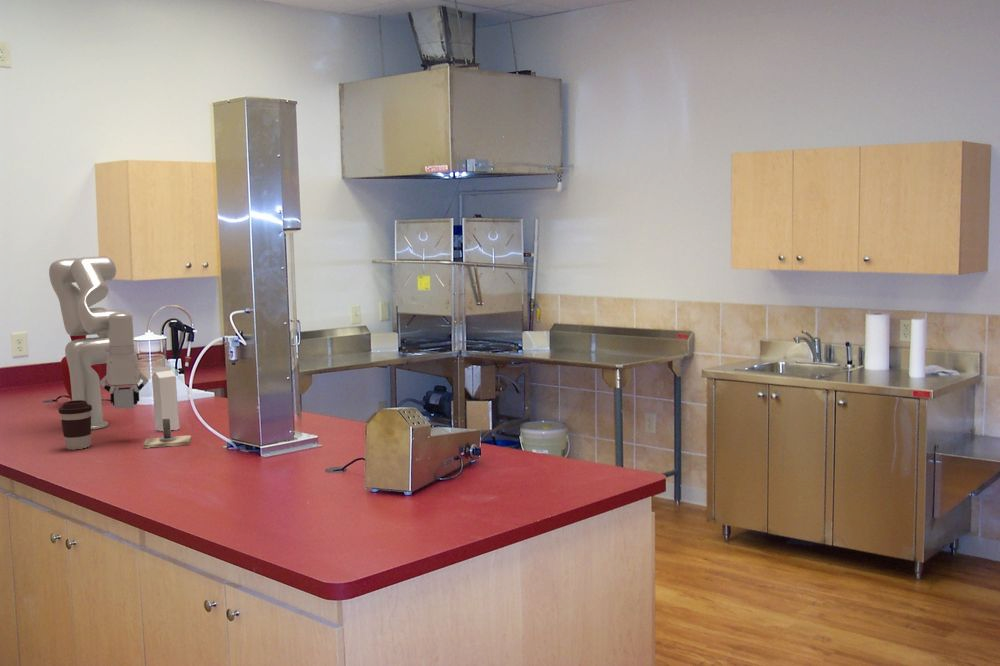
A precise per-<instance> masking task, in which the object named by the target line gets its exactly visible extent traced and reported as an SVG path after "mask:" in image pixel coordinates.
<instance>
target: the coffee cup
mask: <svg viewBox="0 0 1000 666" xmlns="http://www.w3.org/2000/svg"><path fill="white" fill-rule="evenodd" d="M91 410H92V405H89V404H87V402H86V401H84V400H75V401H71V400H69V401H65V402H63V403H62V405H61V406H60V407H58V414H60V423H61V422H62V423H61V427H62V433H63V437H64V442H65V448H66V449H67V450H69V451H70V450H71V451H76V449H79V450H84V449H83V448H85V449H87V447H88V448H90V447H89V446H91V435H92V430H91V416H90V411H91ZM61 418H62V419H61Z"/></svg>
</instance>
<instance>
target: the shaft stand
mask: <svg viewBox="0 0 1000 666" xmlns="http://www.w3.org/2000/svg"><path fill="white" fill-rule="evenodd" d="M162 433H163V436H162V437H161V436H160V437H151V438H146V439H145V441H144V443H143V449H144V448H147V449H151V448H150V447H159V448H166V447H165V446H172V447H181V446H183V445H184V446H190V445H191V441H192V434H190V435H177V436H175V435H172V434H171V433H172V431H170V419H163V432H162Z"/></svg>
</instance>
